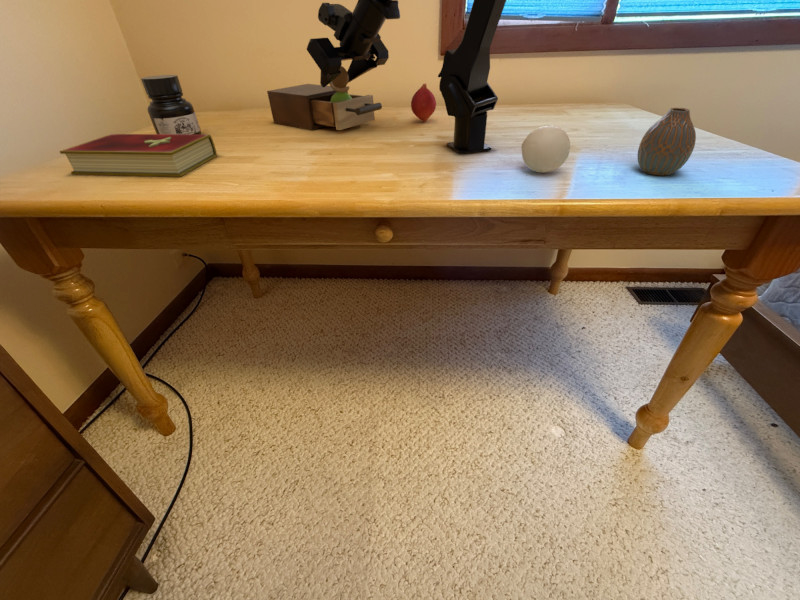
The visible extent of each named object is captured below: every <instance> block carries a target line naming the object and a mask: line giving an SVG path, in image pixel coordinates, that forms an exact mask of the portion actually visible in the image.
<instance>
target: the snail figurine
mask: <svg viewBox="0 0 800 600" xmlns="http://www.w3.org/2000/svg"><path fill="white" fill-rule="evenodd" d="M339 70H340V71H341V74H339V75H338V76H337V77H336V78H335V79H334V80H333V81H331V82H330V83H329V84H328V85H329V86H331V88H332V89H333V90H335V91H336V92H337V93H335V94H334V95H333V96H332V98H331V100H330V102H334V103H335V102H340V101H344V100H348V99H352V97H351V96H350V95H349V94H350V93H349V90H350V86H349V85H348V84H349V83H348V80H349V77H348V73H347V71H348V70H347V69H346V68H345V67H344V66H343V65H341V67H340V69H339ZM347 85H348V86H347ZM346 92H348V93H346Z"/></svg>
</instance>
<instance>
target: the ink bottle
mask: <svg viewBox="0 0 800 600" xmlns="http://www.w3.org/2000/svg"><path fill="white" fill-rule="evenodd" d="M140 81H141V83H142V85H143V88H144V92H145V93H146V95H147V98H148V99H149V100H151V101H150V102H149V105H148V106H147V110H146V111H147V114H148V116H149V118H150V121H151V124H152V127H153V129H154V132H155V134H194V135H202V131H201V130H202V129H201V126H200V124H199V120H198V117H197V115H196V114H197V113H196V112H195V109H194V106H193V104H192V103H191V102H190V101H188V100H186V98H184V97H183V96H184V92H183V89H182V85H181V83H180V80H179V76H178V75H177V74H159V75H150V76H144V77H141V78H140Z"/></svg>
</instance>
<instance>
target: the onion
mask: <svg viewBox="0 0 800 600" xmlns="http://www.w3.org/2000/svg"><path fill="white" fill-rule="evenodd" d="M410 107H411V112H412V113H413V114H414V115H415V117H416V118H417V119H419V120H420V121H421V122H426V121H428V119H429V118H430V117H431V116H432V115H433V114H434V113H435V111H436V108H437V100H436V97H435V95H434V94H433V92H432V91H431V89H429V88H428V86H427V83H423V84H422V85H421V87H419V88H418V89H417V91H415V93H414V94H413V96H412V97H411V101H410Z"/></svg>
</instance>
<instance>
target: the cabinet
mask: <svg viewBox="0 0 800 600" xmlns="http://www.w3.org/2000/svg"><path fill="white" fill-rule="evenodd" d="M335 93H337V92H336V91H335V90H333V89H332V88H331V86H330V85H327V86H325V87H322V85H321V84H313V83H305V84H300V85H293V86H288V87H282V88H276V89H271V90H270V89H269V90H267V91H266V94H267V97H268V102H269V107H270V111H271V115H272V120H273V123H274V124H278V125H283V126H289V127H292V128H293V127H294V128H299V129H304V130H308V131H314V130H318V129H321V128H325V127H328V126H327V125H321V124H316V123H313V116H312V110H311V103H310V99H314V98H318V97H323V96H328V95H333V94H335ZM346 93H348V94H349V91H347V92H346Z"/></svg>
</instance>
